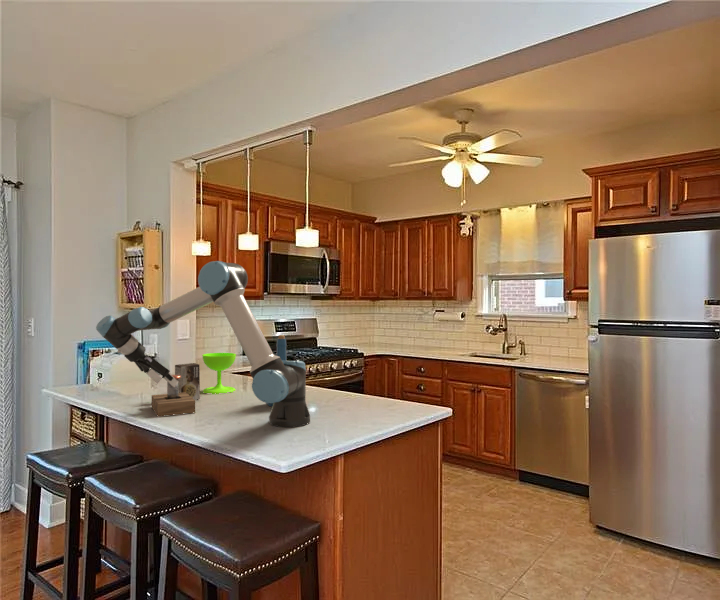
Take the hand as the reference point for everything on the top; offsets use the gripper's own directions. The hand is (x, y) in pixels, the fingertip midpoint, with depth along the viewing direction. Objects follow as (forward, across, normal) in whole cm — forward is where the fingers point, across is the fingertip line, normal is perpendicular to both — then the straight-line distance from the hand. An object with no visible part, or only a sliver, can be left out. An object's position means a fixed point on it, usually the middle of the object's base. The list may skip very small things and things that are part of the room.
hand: (167, 382), depth 217 cm
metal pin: (+9, +1, -6) cm, 11 cm away
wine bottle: (+36, +26, +19) cm, 48 cm away
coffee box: (+20, -13, +4) cm, 24 cm away
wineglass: (+36, -22, +19) cm, 46 cm away
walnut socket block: (+9, +1, -7) cm, 11 cm away
